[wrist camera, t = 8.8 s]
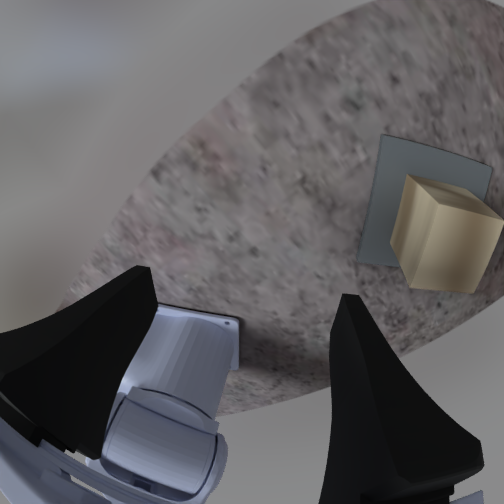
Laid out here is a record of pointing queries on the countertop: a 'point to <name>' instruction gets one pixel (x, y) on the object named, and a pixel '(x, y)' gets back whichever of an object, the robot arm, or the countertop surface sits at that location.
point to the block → (443, 236)
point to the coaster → (392, 184)
